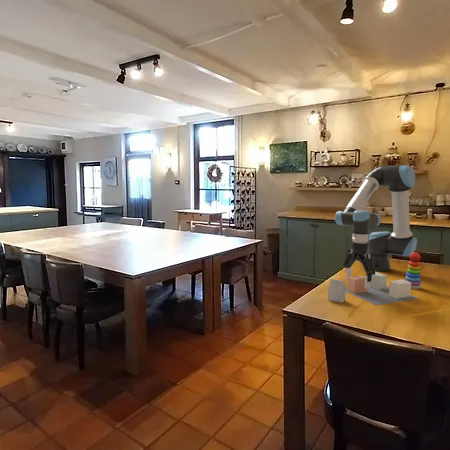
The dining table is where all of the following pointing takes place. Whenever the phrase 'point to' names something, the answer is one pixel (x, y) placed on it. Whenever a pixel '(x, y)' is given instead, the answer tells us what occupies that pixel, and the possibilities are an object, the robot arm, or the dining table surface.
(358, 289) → the terracotta brick
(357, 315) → the dining table surface
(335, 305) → the dining table surface
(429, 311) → the dining table surface
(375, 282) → the sage brick
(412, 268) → the stacking toy
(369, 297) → the charcoal mat
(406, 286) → the cream brick
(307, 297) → the dining table surface
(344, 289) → the ivan-chai tea box
